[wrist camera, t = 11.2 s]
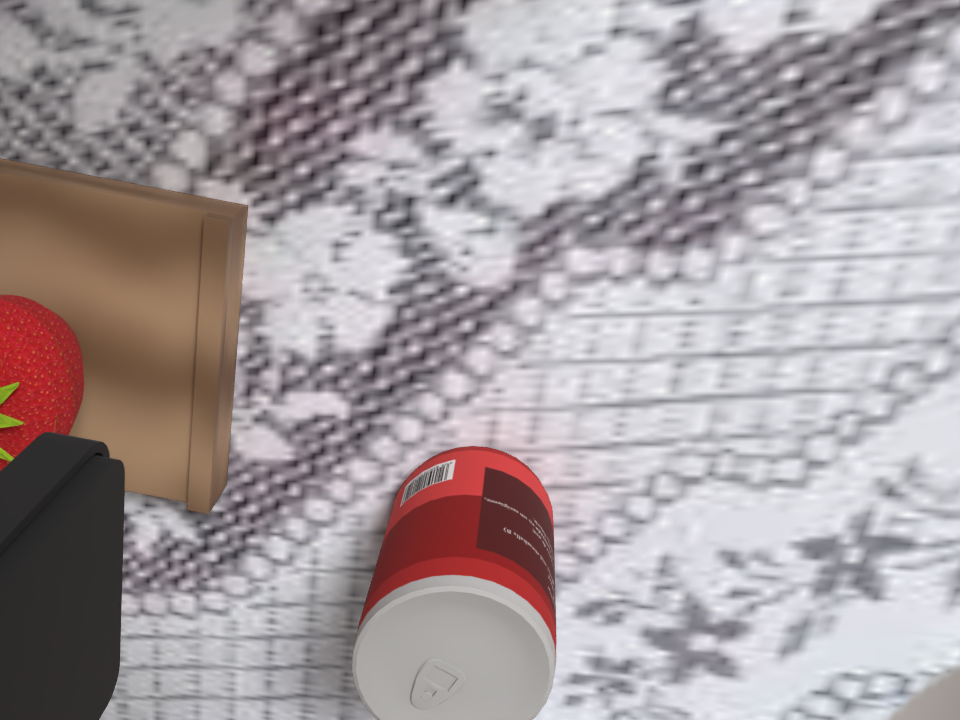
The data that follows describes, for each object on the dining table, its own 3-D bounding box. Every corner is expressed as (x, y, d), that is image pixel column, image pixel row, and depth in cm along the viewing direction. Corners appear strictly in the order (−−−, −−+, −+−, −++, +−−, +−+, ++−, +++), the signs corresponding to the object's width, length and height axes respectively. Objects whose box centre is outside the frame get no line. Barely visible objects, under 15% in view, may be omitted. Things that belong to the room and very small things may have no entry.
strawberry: (-3, 401, 41) (-159, 524, 32) (-5, 242, 38) (-178, 327, 29) (127, 428, 41) (8, 558, 32) (135, 271, 38) (7, 365, 29)
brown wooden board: (-78, 143, 39) (-119, 155, 37) (248, 205, 39) (228, 220, 37) (-59, 431, 44) (-93, 457, 42) (226, 484, 45) (208, 514, 42)
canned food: (376, 556, 46) (328, 722, 36) (418, 419, 43) (379, 559, 32) (523, 598, 46) (517, 774, 36) (575, 466, 43) (585, 619, 33)
